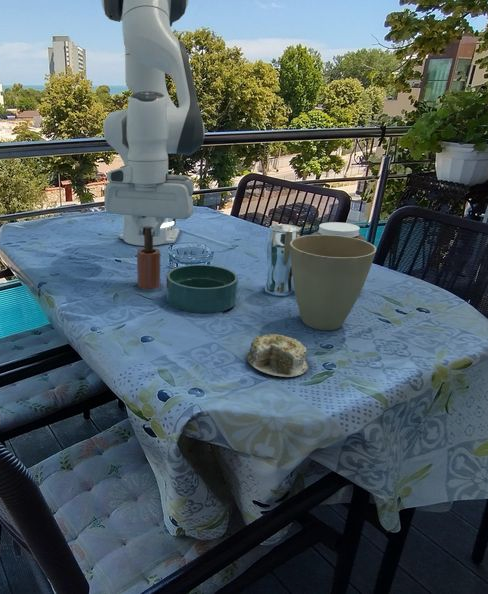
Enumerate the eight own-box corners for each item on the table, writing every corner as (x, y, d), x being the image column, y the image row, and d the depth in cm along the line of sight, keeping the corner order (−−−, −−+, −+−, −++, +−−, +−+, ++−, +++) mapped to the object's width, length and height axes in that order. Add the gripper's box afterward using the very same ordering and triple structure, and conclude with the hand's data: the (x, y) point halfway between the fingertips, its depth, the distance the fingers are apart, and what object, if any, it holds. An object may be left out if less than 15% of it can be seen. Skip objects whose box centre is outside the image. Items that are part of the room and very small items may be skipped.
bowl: (179, 285, 112) (179, 261, 109) (242, 293, 106) (244, 269, 104) (156, 309, 99) (156, 283, 96) (227, 320, 93) (229, 292, 91)
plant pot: (292, 302, 101) (300, 231, 95) (366, 316, 94) (380, 240, 88) (272, 329, 90) (280, 249, 83) (355, 347, 82) (371, 262, 76)
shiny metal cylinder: (288, 299, 103) (296, 233, 97) (258, 293, 106) (264, 229, 101) (297, 289, 108) (305, 226, 103) (268, 283, 112) (274, 222, 106)
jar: (312, 277, 115) (320, 218, 109) (362, 287, 109) (373, 224, 103) (296, 292, 106) (304, 228, 101) (350, 303, 100) (361, 236, 94)
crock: (142, 282, 114) (142, 246, 111) (163, 284, 112) (163, 248, 109) (134, 289, 109) (133, 253, 106) (155, 292, 108) (155, 255, 104)
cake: (248, 348, 84) (251, 320, 82) (306, 356, 81) (311, 327, 79) (243, 372, 75) (246, 341, 73) (308, 382, 72) (313, 351, 70)
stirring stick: (146, 282, 112) (146, 225, 106) (154, 283, 111) (154, 226, 106) (143, 285, 110) (142, 227, 105) (151, 286, 109) (151, 228, 104)
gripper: (198, 173, 100) (196, 235, 105) (112, 169, 107) (114, 228, 112) (189, 177, 94) (188, 243, 100) (99, 173, 101) (102, 234, 107)
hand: (148, 235), depth 106 cm, fingers closed on stirring stick, 2 cm apart
